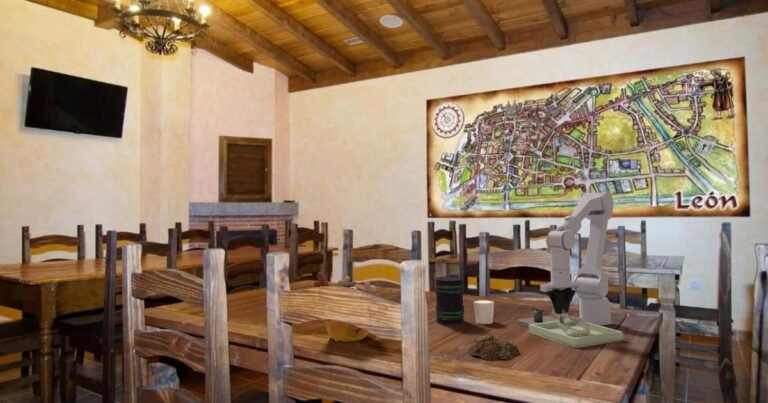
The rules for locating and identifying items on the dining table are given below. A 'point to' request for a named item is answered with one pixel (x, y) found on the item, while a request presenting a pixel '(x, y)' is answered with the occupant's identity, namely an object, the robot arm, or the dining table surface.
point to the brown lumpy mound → (493, 348)
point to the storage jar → (449, 300)
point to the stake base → (530, 320)
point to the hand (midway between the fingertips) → (561, 313)
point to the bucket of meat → (340, 329)
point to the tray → (558, 335)
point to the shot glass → (484, 311)
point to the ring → (568, 318)
